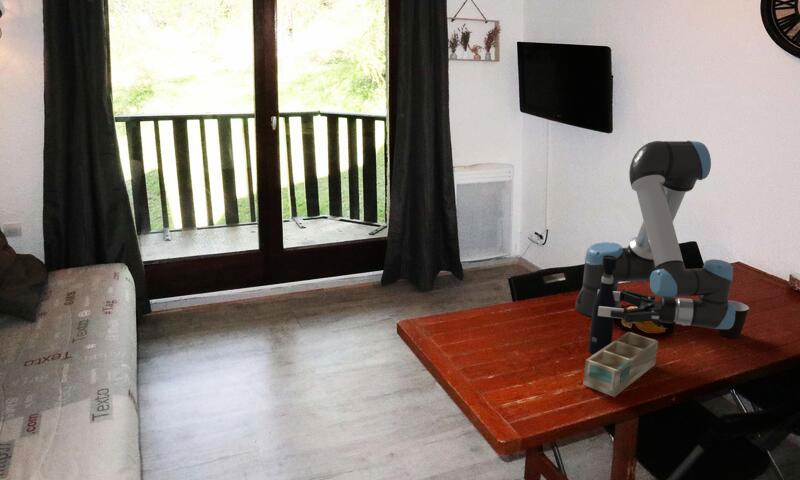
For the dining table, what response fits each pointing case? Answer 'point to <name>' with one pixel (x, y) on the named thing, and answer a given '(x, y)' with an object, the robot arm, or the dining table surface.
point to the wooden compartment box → (620, 363)
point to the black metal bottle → (600, 324)
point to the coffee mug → (736, 321)
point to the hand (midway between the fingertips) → (597, 302)
